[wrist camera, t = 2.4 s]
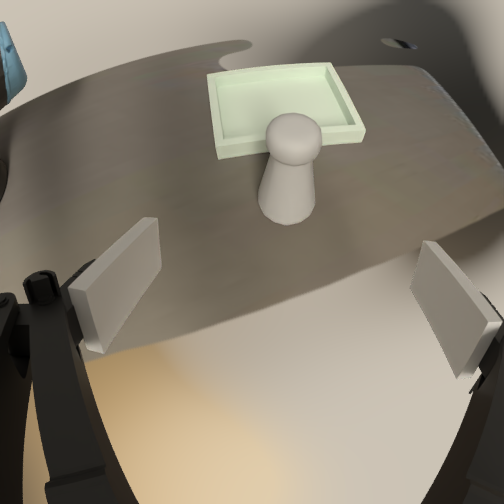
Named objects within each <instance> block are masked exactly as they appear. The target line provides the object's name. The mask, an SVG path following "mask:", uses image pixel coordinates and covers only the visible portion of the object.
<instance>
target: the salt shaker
mask: <svg viewBox="0 0 504 504" xmlns="http://www.w3.org/2000/svg"><path fill="white" fill-rule="evenodd" d="M321 146H322V132H321V128H320V127H319V125H318V124H317V123H316V122H315V121H314V120H313V119H311V118H309V117H308V116H306V115H304V114H299V113H285V114H281V115H279V116H277V117H276V118H274V119H272V121H271V122H270V123H269V125H268V126H267V129H266V147H267V149H268V151H269V152H270V156H269V160H268V163H267V166H266V169H265V172H264V175H263V178H262V181H261V184H260V187H259V190H258V203H259V205H260V208H261V210H262V212H263V214H264V215H265V216H266V217H268V218H269V219H270V220H272V221H273V222H275V223H279V224H283V225H285V226H287V225H292V224H296V223H300V222H301V221H303V220H304V219H306V218H307V217H309V216H310V214H311V212H312V210H313V208H314V205H315V189H314V171H313V160H314V159H315V158H316V157H317V155H318V153H319V151H320V149H321Z"/></svg>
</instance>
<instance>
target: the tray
mask: <svg viewBox="0 0 504 504" xmlns="http://www.w3.org/2000/svg"><path fill="white" fill-rule="evenodd" d="M207 81H208V89H209V98H210V106H211V115H212V123H213V131H214V139H215V147H216V152H217V156H218V160H219V159H225V158H231V157H237V156H244V155H250V154H257V153H264V152H269V151H268V149H267V147H266V129H267V126H268V125H269V123H270V122H271V121H272V119H274V118H276V117H277V116H279V115H281V114H285V113H299V114H304V115H306V116H308V117H309V118H311V119H313V120H314V121H315V122H316V123H317V124H318V125H319V127H320V128H321V132H322V146H323V145H334V144H346V143H359V142H362V140H363V137H364V135H365V132H366V129H365V127H364V125H363V123H362V121H361V119H360V117H359V115H358V113H357V111H356V109H355V107H354V105H353V103H352V101H351V99H350V97H349V95H348V93H347V91H346V89H345V87H344V85H343V84H342V82H341V80H340V78H339V76H338V75H337V73H336V71H335V69H334V68H333V66H332V64H331V63H302V64H286V65H274V66H264V67H255V68H247V69H239V70H232V71H224V72H218V73H212V74H207Z"/></svg>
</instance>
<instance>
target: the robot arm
mask: <svg viewBox="0 0 504 504" xmlns="http://www.w3.org/2000/svg"><path fill="white" fill-rule="evenodd" d="M26 82H27V75H26V72H25V70H24V68H23V65H22V63H21V60H20V58H19V56H18V53H17V51H16V48H15V46H14V44H13V41H12V39H11V36H10V34H9V31H8V29H7V26H6V24H5V22H0V110H1V109H2V108H3V107H4V106H5V105H7V104H9V103H10V101H11V99H12V98H14V97H15V96H16V95H17V94H18V93H19V92H20V91H21V90H22V89H23V88H24V87H25V85H26ZM6 181H7V168H6V165H5V163H4V162H3V161H2V160H1V159H0V200H1V198H2V195H3V193H4V190H5V186H6ZM161 268H162V262H161V252H160V240H159V228H158V218H151V217H143V218H142V219H141V220H140V221H139V222H137V223H136V224H135V225H134V226H133V227H132V228H131V229H129V230H128V231H127V232H126V233H125V234H124V235H123V236H122V237H120V238H119V239H118V240H117V241H116V242H115V243H114V244H113V245H112V246H110V247H109V248H108V249H107V250H106V251H105V252H104V253H103V254H102V255H101V256H100V257H99V258H97V259H94V260H92V261H90V262H88V263H86V264H84V265H83V266H82V267H81V268H80V269H79V270H78V272H76V273H75V274H74V275H73V276H72V277H70V278H69V279H68V280H67V281H66V282H65V283H64V284H63V285H62V286H61V287H60V288H59V284H58V281H57V277H56V274H55V272H53V271H49V270H44V271H38V272H36V273H33V274H31V275H30V276H28V277H27V278H26V279H25V280H24V282H23V287H24V290H25V293H26V296H27V299H28V301H29V304H18V302H17V300H16V297H15V295H14V294H13V293H0V504H23V488H22V487H23V484H22V481H23V479H22V478H23V451H24V438H25V428H26V418H27V410H28V403H29V396H30V390H31V384H32V382H33V391H34V399H35V407H36V413H37V420H38V425H39V431H40V436H41V441H42V446H43V450H44V455H45V459H46V463H47V467H48V471H49V476H50V481H49V482H47V483H45V494H46V499H47V502H48V504H139V503H138V501H137V499H136V498H135V496H134V494H133V492H132V490H131V487H130V485H129V483H128V481H127V479H126V477H125V475H124V473H123V471H122V468H121V466H120V464H119V462H118V459H117V457H116V455H115V452H114V450H113V448H112V445H111V443H110V440H109V438H108V435H107V433H106V430H105V427H104V425H103V422H102V419H101V416H100V413H99V411H98V408H97V405H96V402H95V399H94V395H93V392H92V389H91V386H90V383H89V379H88V376H87V372H86V369H85V365H84V361H83V358H82V354H81V350H80V348H79V345H78V344H79V343H80V341H81V340H82V339H83V338H84V341H85V344H86V347H87V349H88V350H91V351H95V352H99V353H103V354H104V353H105V352H106V350H107V349H108V347H109V345H110V344H111V342H112V341H113V339H114V338H115V336H116V335H117V333H118V331H119V330H120V328H121V327H122V325H123V324H124V322H125V321H126V319H127V318H128V316H129V315H130V313H131V312H132V310H133V309H134V307H135V306H136V304H137V303H138V301H139V300H140V299H141V297H142V296H143V294H144V293H145V291H146V290H147V288H148V287H149V285H150V284H151V283H152V281H153V280H154V278H155V277H156V275H157V274H158V273H159V271H160V270H161ZM410 289H411V291H412V293H413V295H414V296H415V298H416V300H417V302H418V303H419V305H420V307H421V309H422V311H423V313H424V314H425V316H426V318H427V320H428V322H429V324H430V326H431V328H432V330H433V331H434V333H435V335H436V337H437V339H438V341H439V343H440V345H441V347H442V349H443V351H444V353H445V355H446V358H447V360H448V362H449V364H450V366H451V368H452V370H453V373H454V375H455V377H456V379H465V378H471V377H472V376H473V374H474V372H475V371H476V369H477V367H478V366H479V368H480V370H481V372H482V374H481V375H480V376H479V378H478V380H477V381H476V383H475V384H474V386H473V387H472V389H471V390H470V392H469V394H471V393H472V391H473V394H472V397H471V400H470V403H469V405H468V408H467V411H466V413H465V416H464V418H463V421H462V423H461V426H460V428H459V431H458V433H457V435H456V438H455V440H454V442H453V444H452V446H451V449H450V451H449V453H448V455H447V457H446V459H445V461H444V463H443V465H442V467H441V469H440V471H439V473H438V475H437V476H436V478H435V480H434V482H433V484H432V486H431V487H430V489H429V491H428V493H427V494H426V496H425V498H424V499H423V501H422V503H421V504H504V319H503V317H502V316H501V315H500V314H499V313H498V311H497V310H496V308H495V307H494V306H493V305H491V302H490V301H489V300H488V298H487V297H486V296H485V295H484V294H482V293H481V292H480V291H478V289H477V288H476V287H475V286H474V284H473V283H472V282H471V281H470V280H469V278H468V277H467V276H466V275H465V274H464V273H463V271H461V269H460V268H459V267H458V266H457V265H456V263H454V261H453V260H452V259H451V258H450V257H449V256H448V255H447V253H446V252H445V251H444V250H443V249H442V248H441V247H440V246H439V245H438V244H437V243H436V242H432V241H424V240H423V244H422V248H421V252H420V255H419V259H418V262H417V266H416V269H415V272H414V276H413V279H412V282H411V286H410Z"/></svg>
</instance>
